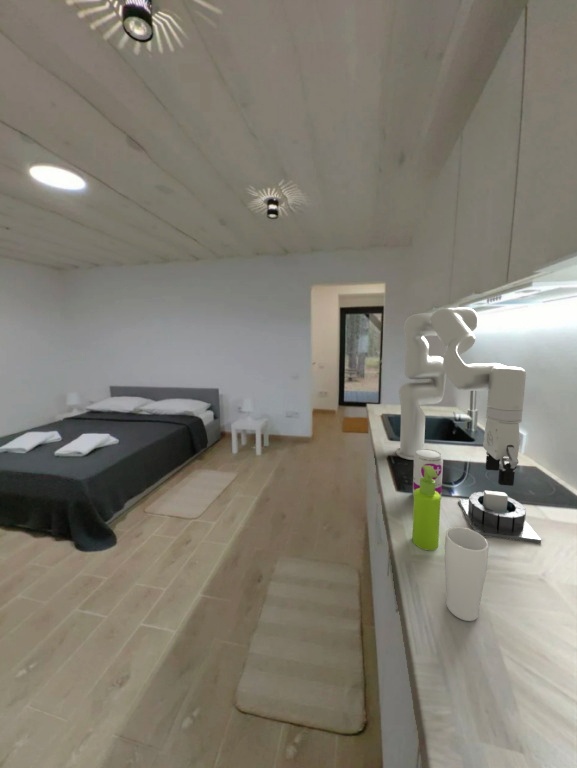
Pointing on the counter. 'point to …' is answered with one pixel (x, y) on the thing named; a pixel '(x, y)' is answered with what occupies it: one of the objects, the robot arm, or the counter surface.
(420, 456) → the supplement can
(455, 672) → the counter surface
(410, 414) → the robot arm
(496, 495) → the cap
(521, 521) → the segmented ring on plate
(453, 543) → the drinking glass
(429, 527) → the soap dispenser
